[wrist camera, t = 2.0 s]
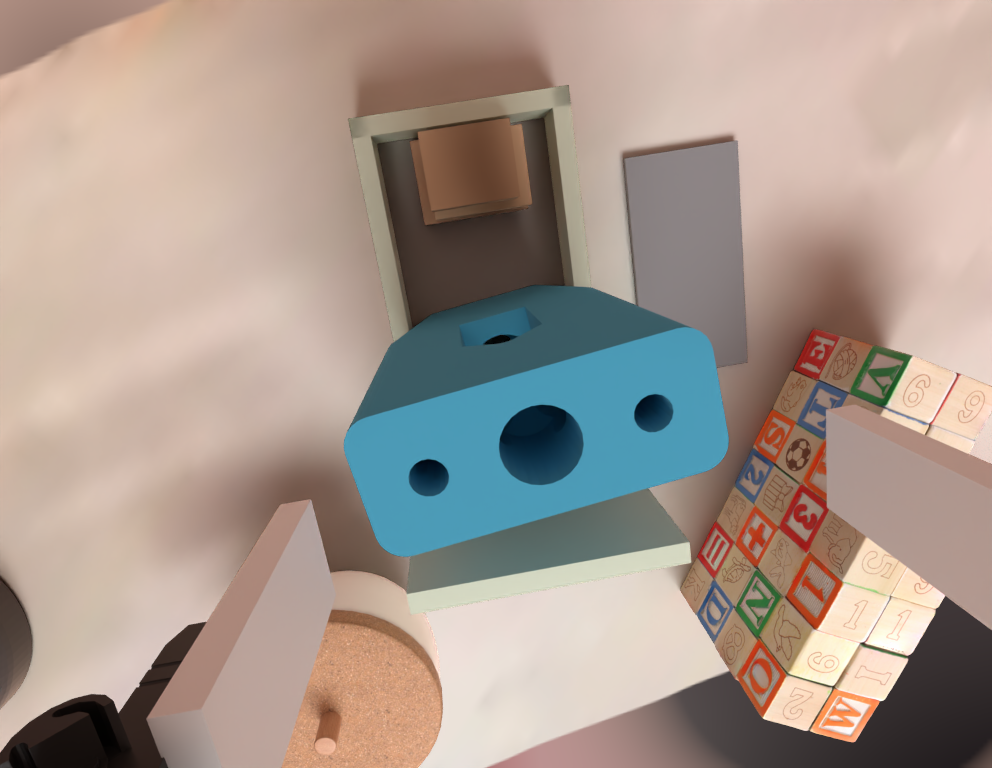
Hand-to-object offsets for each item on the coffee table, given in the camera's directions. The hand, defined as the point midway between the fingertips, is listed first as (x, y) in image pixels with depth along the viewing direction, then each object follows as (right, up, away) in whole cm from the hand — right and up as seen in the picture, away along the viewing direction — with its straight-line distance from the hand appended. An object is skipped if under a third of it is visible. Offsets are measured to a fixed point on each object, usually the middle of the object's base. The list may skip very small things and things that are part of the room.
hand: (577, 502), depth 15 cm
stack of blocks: (+18, -4, +28) cm, 34 cm away
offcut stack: (-4, +15, +21) cm, 26 cm away
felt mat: (+10, +11, +23) cm, 27 cm away
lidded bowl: (-12, -14, +28) cm, 33 cm away
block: (-2, +6, +24) cm, 24 cm away
